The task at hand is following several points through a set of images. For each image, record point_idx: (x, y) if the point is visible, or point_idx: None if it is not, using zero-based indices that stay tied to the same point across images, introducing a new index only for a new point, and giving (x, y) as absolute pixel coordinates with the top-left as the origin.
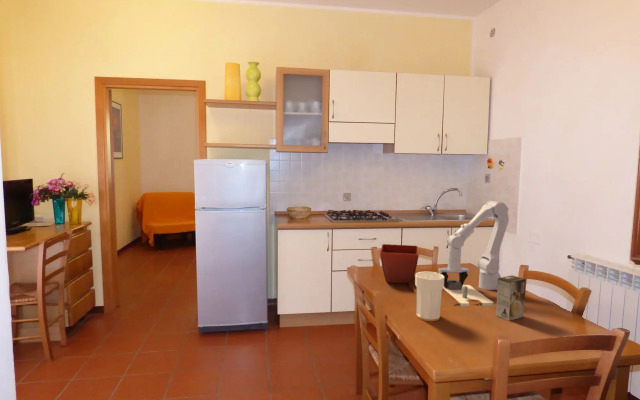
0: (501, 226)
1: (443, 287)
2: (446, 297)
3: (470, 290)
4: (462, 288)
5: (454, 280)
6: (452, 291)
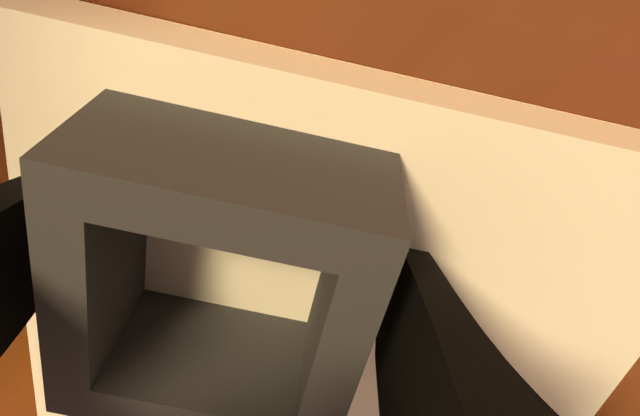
0: None
1: None
2: (13, 381)
3: None
4: None
5: (306, 267)
6: None
